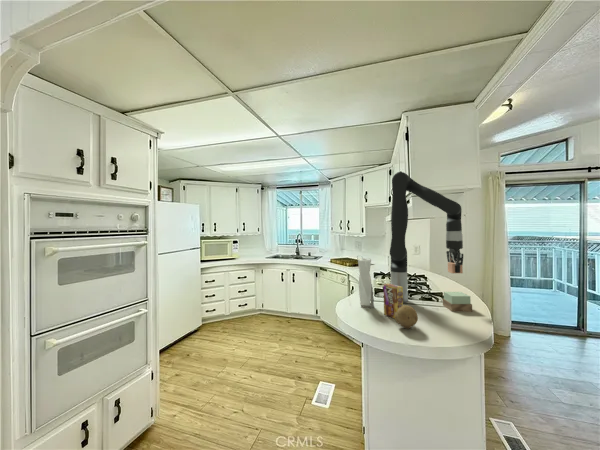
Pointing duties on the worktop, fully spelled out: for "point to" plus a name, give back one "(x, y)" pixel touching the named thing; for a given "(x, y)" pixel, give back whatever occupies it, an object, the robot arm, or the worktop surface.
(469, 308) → the tower base block
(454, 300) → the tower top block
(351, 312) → the worktop surface
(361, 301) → the skyscraper
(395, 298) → the candy box
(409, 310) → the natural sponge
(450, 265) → the terracotta block
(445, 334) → the worktop surface
